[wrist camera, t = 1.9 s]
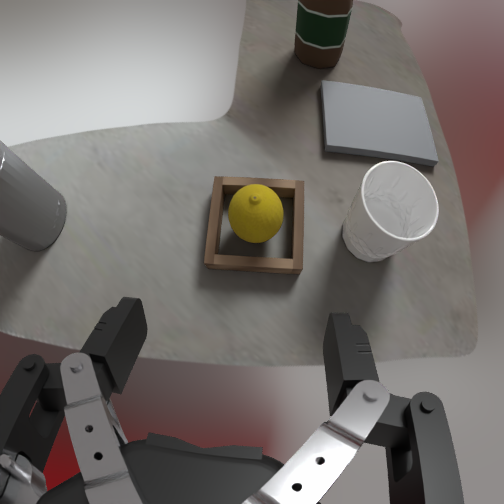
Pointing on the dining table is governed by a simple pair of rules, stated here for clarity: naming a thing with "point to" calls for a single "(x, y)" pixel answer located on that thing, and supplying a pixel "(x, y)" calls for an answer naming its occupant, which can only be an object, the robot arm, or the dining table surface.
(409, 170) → the white cup
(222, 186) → the walnut collar
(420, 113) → the gray board
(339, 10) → the beer bottle
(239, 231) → the lemon
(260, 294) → the dining table surface
